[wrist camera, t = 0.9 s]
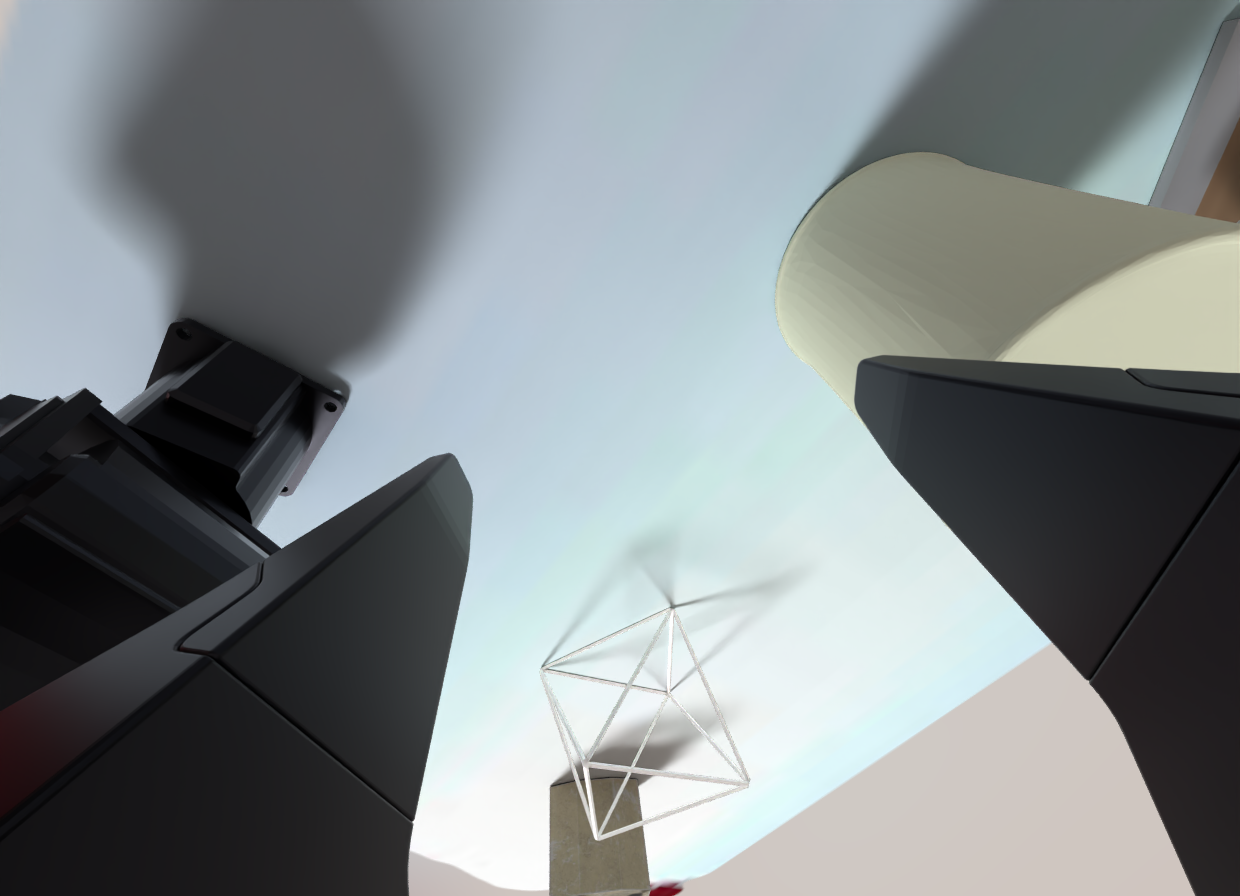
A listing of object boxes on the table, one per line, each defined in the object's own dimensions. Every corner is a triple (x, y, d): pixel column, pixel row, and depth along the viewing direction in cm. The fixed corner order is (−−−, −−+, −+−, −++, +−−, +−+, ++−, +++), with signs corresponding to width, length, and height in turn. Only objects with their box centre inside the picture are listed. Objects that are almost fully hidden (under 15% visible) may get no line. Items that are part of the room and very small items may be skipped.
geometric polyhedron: (599, 585, 32) (612, 738, 25) (739, 624, 36) (786, 765, 28) (522, 688, 38) (513, 835, 31) (648, 711, 42) (668, 847, 34)
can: (884, 398, 26) (1084, 594, 16) (732, 328, 23) (866, 519, 13) (1038, 219, 21) (1446, 340, 12) (875, 101, 18) (1246, 132, 8)
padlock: (634, 792, 50) (660, 1018, 38) (550, 800, 49) (549, 1035, 37) (637, 774, 48) (666, 1009, 36) (549, 782, 47) (548, 1026, 35)
